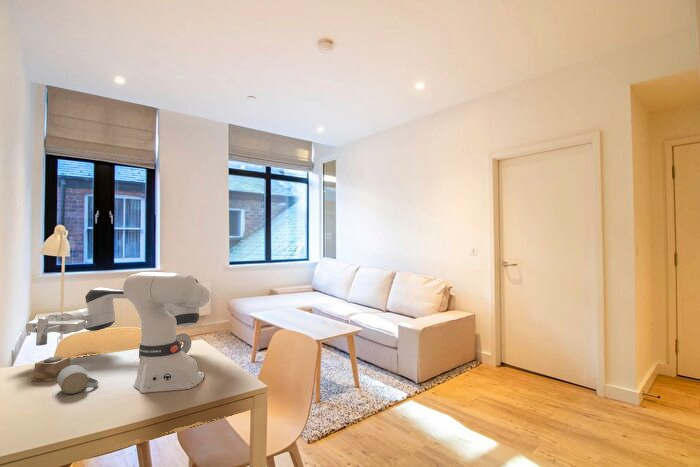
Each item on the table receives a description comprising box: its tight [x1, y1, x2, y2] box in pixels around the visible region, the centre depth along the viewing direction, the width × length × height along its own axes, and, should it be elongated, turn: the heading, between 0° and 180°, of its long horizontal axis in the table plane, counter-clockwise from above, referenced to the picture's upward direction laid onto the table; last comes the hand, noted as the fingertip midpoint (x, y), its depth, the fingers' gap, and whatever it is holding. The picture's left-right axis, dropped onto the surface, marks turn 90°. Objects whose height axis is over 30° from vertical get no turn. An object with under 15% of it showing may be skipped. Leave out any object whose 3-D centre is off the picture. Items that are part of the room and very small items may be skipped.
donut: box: [176, 333, 192, 354], centre depth 151 cm, size 10×4×10 cm, turn 153°
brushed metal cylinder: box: [35, 317, 48, 347], centre depth 134 cm, size 3×3×10 cm
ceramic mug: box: [56, 364, 99, 395], centre depth 116 cm, size 11×8×8 cm
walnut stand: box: [31, 356, 71, 382], centre depth 126 cm, size 8×8×6 cm
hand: (40, 330), depth 133 cm, fingers closed on brushed metal cylinder, 3 cm apart
